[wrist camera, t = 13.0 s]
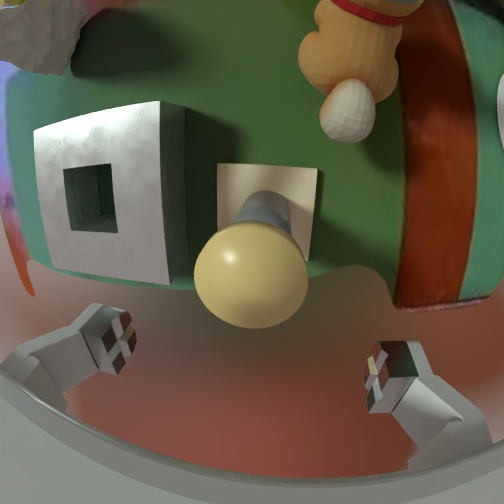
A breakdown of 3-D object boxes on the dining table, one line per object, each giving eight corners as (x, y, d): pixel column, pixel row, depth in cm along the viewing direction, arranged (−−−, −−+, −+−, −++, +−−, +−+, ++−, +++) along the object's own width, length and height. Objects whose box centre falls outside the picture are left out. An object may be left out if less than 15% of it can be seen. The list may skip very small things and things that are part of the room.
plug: (299, 185, 21) (314, 233, 11) (294, 245, 23) (300, 331, 13) (234, 181, 22) (190, 225, 11) (234, 241, 24) (198, 322, 14)
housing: (185, 106, 20) (159, 100, 15) (189, 258, 26) (169, 285, 21) (67, 126, 21) (33, 130, 17) (80, 248, 27) (53, 267, 22)
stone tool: (76, 76, 19) (-42, 74, 5) (59, 76, 19) (-52, 78, 5) (103, 7, 15) (1, -30, 2) (84, 10, 15) (-14, -18, 2)
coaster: (316, 168, 21) (317, 169, 20) (307, 258, 24) (308, 261, 24) (218, 163, 22) (217, 163, 21) (219, 251, 25) (217, 254, 24)
